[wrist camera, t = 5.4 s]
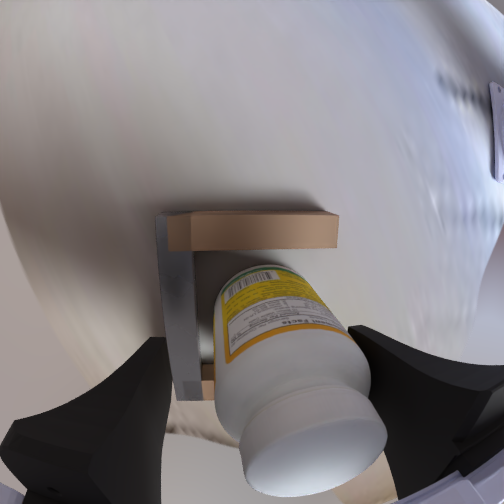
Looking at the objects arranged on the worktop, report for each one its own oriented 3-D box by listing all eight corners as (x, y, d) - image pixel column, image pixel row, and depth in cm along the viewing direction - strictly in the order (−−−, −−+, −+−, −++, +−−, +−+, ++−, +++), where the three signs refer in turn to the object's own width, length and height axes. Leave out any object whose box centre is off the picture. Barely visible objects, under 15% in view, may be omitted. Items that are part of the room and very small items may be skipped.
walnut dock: (326, 211, 14) (339, 215, 13) (309, 375, 17) (317, 390, 15) (161, 212, 13) (155, 216, 12) (178, 384, 16) (176, 400, 14)
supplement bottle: (239, 244, 14) (284, 374, 5) (330, 284, 15) (443, 402, 6) (197, 335, 15) (190, 497, 6) (284, 363, 16) (338, 503, 7)
